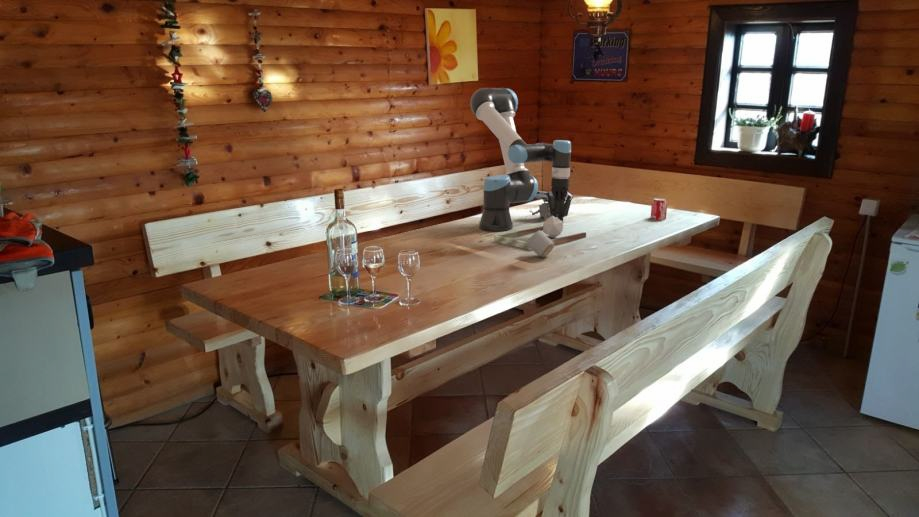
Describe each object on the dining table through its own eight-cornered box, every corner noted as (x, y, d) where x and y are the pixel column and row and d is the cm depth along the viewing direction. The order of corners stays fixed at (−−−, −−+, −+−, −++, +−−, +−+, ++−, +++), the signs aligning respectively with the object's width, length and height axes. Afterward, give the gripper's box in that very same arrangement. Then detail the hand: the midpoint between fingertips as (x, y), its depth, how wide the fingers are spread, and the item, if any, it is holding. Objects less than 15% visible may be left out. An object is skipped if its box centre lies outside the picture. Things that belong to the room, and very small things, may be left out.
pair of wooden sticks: (493, 241, 279) (494, 235, 278) (546, 230, 302) (547, 225, 301) (533, 250, 264) (533, 244, 263) (585, 238, 287) (586, 232, 286)
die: (567, 238, 284) (566, 216, 280) (548, 242, 281) (546, 219, 278) (559, 234, 291) (557, 211, 288) (540, 237, 289) (538, 215, 286)
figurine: (541, 220, 327) (542, 189, 324) (560, 223, 319) (561, 191, 315) (529, 222, 321) (530, 191, 317) (548, 225, 313) (549, 193, 309)
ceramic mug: (540, 262, 252) (546, 249, 246) (524, 248, 255) (529, 235, 249) (557, 248, 258) (563, 235, 252) (541, 235, 261) (546, 222, 255)
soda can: (667, 223, 320) (669, 198, 317) (663, 226, 314) (665, 200, 311) (652, 222, 324) (654, 197, 321) (648, 224, 318) (650, 199, 315)
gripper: (542, 176, 286) (540, 230, 292) (567, 179, 277) (564, 235, 283) (553, 175, 291) (551, 228, 297) (578, 178, 282) (575, 233, 288)
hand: (558, 231), depth 290 cm, fingers closed
